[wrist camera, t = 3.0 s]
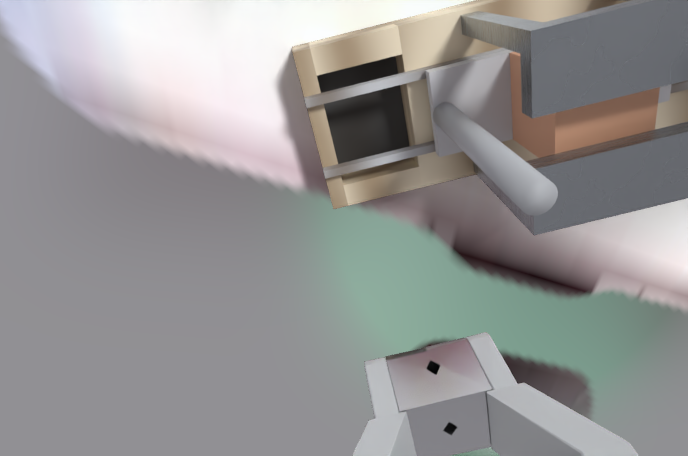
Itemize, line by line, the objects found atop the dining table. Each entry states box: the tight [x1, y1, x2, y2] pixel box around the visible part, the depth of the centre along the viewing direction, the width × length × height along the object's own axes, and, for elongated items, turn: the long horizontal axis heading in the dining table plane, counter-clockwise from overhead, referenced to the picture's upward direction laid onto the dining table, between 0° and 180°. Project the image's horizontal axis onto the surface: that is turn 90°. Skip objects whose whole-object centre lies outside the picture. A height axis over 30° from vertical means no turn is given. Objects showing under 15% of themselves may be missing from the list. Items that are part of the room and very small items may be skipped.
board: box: [292, 0, 688, 209], centre depth 28 cm, size 31×10×3 cm, turn 102°
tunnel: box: [461, 0, 688, 235], centre depth 24 cm, size 9×10×8 cm
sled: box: [425, 50, 671, 216], centre depth 21 cm, size 14×5×12 cm, turn 102°
